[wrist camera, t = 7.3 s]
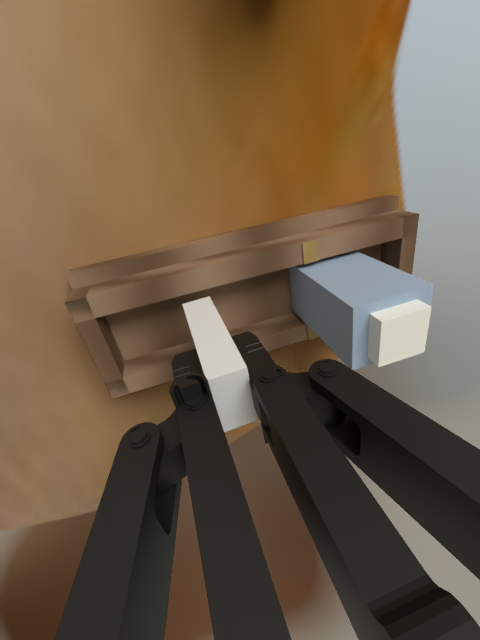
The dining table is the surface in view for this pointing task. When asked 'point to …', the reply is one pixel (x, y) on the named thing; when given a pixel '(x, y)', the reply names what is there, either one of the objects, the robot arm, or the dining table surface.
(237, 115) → the dining table surface
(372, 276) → the rider
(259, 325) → the wooden tray
